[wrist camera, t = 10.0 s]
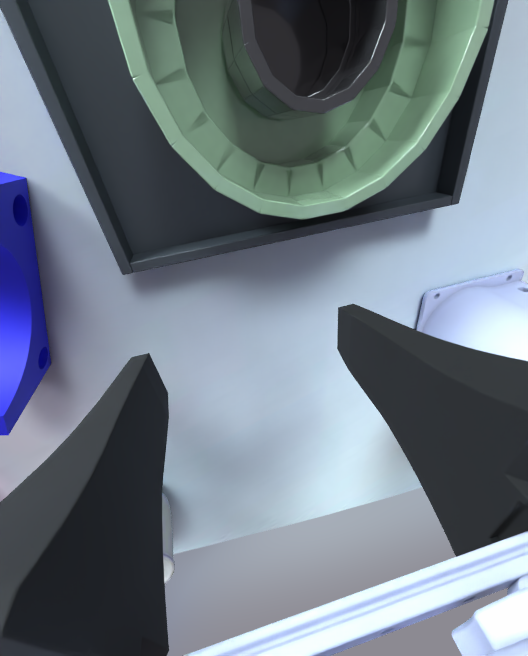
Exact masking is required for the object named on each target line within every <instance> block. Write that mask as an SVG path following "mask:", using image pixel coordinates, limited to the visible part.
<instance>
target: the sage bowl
mask: <svg viewBox="0 0 528 656" xmlns="http://www.w3.org/2000/svg"><path fill="white" fill-rule="evenodd" d="M226 1H227V0H108V3H109V6H110V9H111V13H112V16H113V19H114V22H115V26H116V29H117V32H118V36H119V39H120V42H121V45H122V49H123V52H124V55H125V58H126V62H127V65H128V68H129V72H130V75H131V77H132V78H133V82H134V84H135V85H136V87H137V89H138V90H139V92H140V94H141V96H142V97H143V99H144V101H145V103H146V104H147V106H148V108H149V110H150V111H151V113H152V115H153V116H154V118H155V120H156V122H157V123H158V125H159V127H160V129H161V130H162V132H163V134H164V135H165V137H166V139H167V141H168V142H169V144H170V145H171V146H172V148H173V149H174V150H175V151H176V152H177V153H178V154H179V155H180V156H181V157H182V158H183V159H184V160H185V161H186V162H187V163H188V164H189V165H190V166H191V167H192V168H193V169H194V170H195V171H196V172H197V173H198V174H199V175H200V176H201V177H202V178H203V179H204V180H205V181H206V182H207V183H208V184H209V185H210V186H211V187H212V188H213V189H214V190H216V191H217V192H219V193H221V194H223V195H224V196H226V197H228V198H230V199H232V200H234V201H236V202H238V203H240V204H242V205H244V206H245V207H247V208H249V209H251V210H253V211H255V212H257V213H260V214H265V215H272V216H279V217H287V218H294V219H301V220H302V219H304V220H305V219H309V218H314V217H319V216H324V215H329V214H334V213H339V212H343V211H345V210H348V209H350V208H351V207H353V206H355V205H357V204H359V203H360V202H362V201H364V200H366V199H367V198H369V197H371V196H373V195H375V194H376V193H378V192H380V191H382V190H383V189H385V188H386V187H388V186H389V185H390V184H391V183H392V182H393V181H394V180H395V179H396V178H397V177H398V176H399V175H400V174H401V173H402V172H403V171H404V170H405V169H406V168H407V167H408V166H409V165H410V164H411V163H412V162H413V161H414V160H415V159H416V158H418V157H419V156H420V155H421V154H422V153H423V151H424V150H426V148H427V147H428V145H429V144H430V142H431V141H432V139H433V137H434V136H435V134H436V133H437V131H438V130H439V128H440V127H441V125H442V124H443V122H444V121H445V119H446V118H447V116H448V115H449V113H450V112H451V110H452V109H453V107H454V106H455V104H456V102H457V101H458V99H459V97H460V95H461V93H462V91H463V88H464V86H465V83H466V81H467V79H468V76H469V74H470V71H471V69H472V67H473V64H474V62H475V59H476V57H477V55H478V52H479V50H480V47H481V45H482V43H483V40H484V38H485V35H486V33H487V31H488V26H489V22H490V18H491V14H492V9H493V5H494V0H398V11H397V22H396V26H395V29H394V31H393V34H392V36H391V39H390V42H389V44H388V47H387V49H386V52H385V55H384V57H383V60H382V62H381V65H380V67H379V69H378V71H377V72H376V73H375V75H374V76H373V77H372V78H371V79H370V81H369V82H368V83H367V84H366V85H365V87H364V88H363V89H362V90H361V91H360V93H359V94H358V95H357V96H356V97H355V99H353V100H352V101H351V102H348V103H346V104H344V105H342V106H340V107H338V108H336V109H333V110H331V111H329V112H327V113H325V114H320V115H315V116H309V117H303V118H298V119H292V120H283V119H275V118H267V117H265V116H263V115H262V114H260V113H259V112H258V111H257V110H255V109H254V108H253V107H251V106H250V105H249V104H247V103H246V102H245V101H244V99H242V97H241V95H240V93H239V91H238V89H237V87H236V86H235V84H234V82H233V80H232V78H231V76H230V74H229V72H228V69H227V65H226V58H225V52H224V46H223V39H222V25H223V19H224V13H225V7H226Z"/></svg>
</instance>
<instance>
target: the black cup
mask: <svg viewBox="0 0 528 656" xmlns="http://www.w3.org/2000/svg"><path fill="white" fill-rule="evenodd" d="M397 11H398V0H227V1H226V7H225V13H224V19H223V25H222V39H223V46H224V52H225V58H226V65H227V69H228V72H229V74H230V76H231V78H232V80H233V82H234V84H235V86H236V87H237V89H238V91H239V93H240V95H241V97H242V99H244V101H245V102H246V103H247V104H249V105H250V106H251V107H253V108H254V109H255V110H257V111H258V112H259V113H260V114H262V115H263V116H265V117H267V118H275V119H283V120H292V119H298V118H303V117H309V116H315V115H320V114H325V113H327V112H329V111H331V110H333V109H336V108H338V107H340V106H342V105H344V104H346V103H348V102H351V101H352V100H353V99H355V97H356V96H357V95H358V94H359V93H360V91H361V90H362V89H363V88H364V87H365V85H366V84H367V83H368V82H369V81H370V79H371V78H372V77H373V76H374V75H375V73H376V72H377V71H378V69H379V67H380V65H381V62H382V60H383V57H384V55H385V52H386V49H387V47H388V44H389V42H390V39H391V36H392V34H393V31H394V29H395V26H396V22H397Z"/></svg>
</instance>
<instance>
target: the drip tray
mask: <svg viewBox="0 0 528 656" xmlns="http://www.w3.org/2000/svg"><path fill="white" fill-rule="evenodd" d="M507 4H508V0H494V5H493V9H492V14H491V18H490V22H489V26H488V31H487V33H486V35H485V38H484V40H483V43H482V45H481V47H480V50H479V52H478V55H477V57H476V59H475V62H474V64H473V67H472V69H471V71H470V74H469V76H468V79H467V81H466V83H465V86H464V88H463V91H462V93H461V95H460V97H459V99H458V101H457V102H456V104H455V106H454V107H453V109H452V110H451V112H450V113H449V115H448V116H447V118H446V119H445V121H444V122H443V124H442V125H441V127H440V128H439V130H438V131H437V133H436V134H435V136H434V137H433V139H432V141H431V142H430V144H429V145H428V147H427V148H426V150H424V151H423V153H422V154H421V155H420V156H419V157H418V158H416V159H415V160H414V161H413V162H412V163H411V164H410V165H409V166H408V167H407V168H406V169H405V170H404V171H403V172H402V173H401V174H400V175H399V176H398V177H397V178H396V179H395V180H394V181H393V182H392V183H391V184H390V185H389V186H388V187H386V188H385V189H383V190H382V191H380V192H378V193H376V194H375V195H373V196H371V197H369V198H367V199H366V200H364V201H362V202H360V203H359V204H357V205H355V206H353V207H351V208H350V209H348V210H345V211H343V212H339V213H334V214H329V215H324V216H319V217H314V218H309V219H305V220H304V219H302V220H301V219H294V218H287V217H279V216H272V215H265V214H260V213H257V212H255V211H253V210H251V209H249V208H247V207H245V206H244V205H242V204H240V203H238V202H236V201H234V200H232V199H230V198H228V197H226V196H224V195H223V194H221V193H219V192H217V191H216V190H214V189H213V188H212V187H211V186H210V185H209V184H208V183H207V182H206V181H205V180H204V179H203V178H202V177H201V176H200V175H199V174H198V173H197V172H196V171H195V170H194V169H193V168H192V167H191V166H190V165H189V164H188V163H187V162H186V161H185V160H184V159H183V158H182V157H181V156H180V155H179V154H178V153H177V152H176V151H175V150H174V149H173V148H172V146H171V145H170V144H169V142H168V141H167V139H166V137H165V135H164V134H163V132H162V130H161V129H160V127H159V125H158V123H157V122H156V120H155V118H154V116H153V115H152V113H151V111H150V110H149V108H148V106H147V104H146V103H145V101H144V99H143V97H142V96H141V94H140V92H139V90H138V89H137V87H136V85H135V84H134V82H133V78H132V77H131V75H130V72H129V68H128V65H127V62H126V58H125V55H124V52H123V49H122V45H121V42H120V39H119V36H118V32H117V29H116V26H115V22H114V19H113V16H112V13H111V9H110V6H109V3H108V0H0V8H1V10H2V12H3V14H4V17H5V19H6V21H7V23H8V25H9V27H10V30H11V32H12V34H13V36H14V38H15V41H16V43H17V45H18V47H19V49H20V51H21V54H22V56H23V58H24V60H25V62H26V65H27V67H28V69H29V71H30V73H31V76H32V78H33V80H34V82H35V84H36V86H37V89H38V91H39V93H40V95H41V97H42V100H43V102H44V104H45V106H46V108H47V110H48V113H49V115H50V117H51V119H52V121H53V124H54V126H55V128H56V130H57V132H58V135H59V137H60V139H61V141H62V143H63V145H64V148H65V150H66V152H67V154H68V156H69V159H70V161H71V163H72V165H73V167H74V169H75V172H76V174H77V176H78V178H79V180H80V183H81V185H82V187H83V189H84V191H85V193H86V196H87V198H88V200H89V202H90V204H91V207H92V209H93V211H94V213H95V215H96V218H97V220H98V222H99V224H100V226H101V228H102V231H103V233H104V235H105V237H106V239H107V242H108V244H109V246H110V248H111V250H112V252H113V255H114V257H115V259H116V261H117V263H118V266H119V268H120V270H121V272H122V274H123V275H125V274H130V273H133V272H139V271H144V270H149V269H153V268H158V267H163V266H167V265H172V264H177V263H182V262H186V261H191V260H196V259H200V258H205V257H210V256H214V255H219V254H224V253H228V252H233V251H238V250H243V249H247V248H252V247H257V246H261V245H266V244H271V243H275V242H280V241H285V240H290V239H294V238H299V237H304V236H308V235H313V234H318V233H322V232H327V231H332V230H336V229H341V228H346V227H351V226H355V225H360V224H365V223H369V222H374V221H379V220H383V219H388V218H393V217H397V216H402V215H407V214H412V213H416V212H421V211H426V210H430V209H435V208H440V207H444V206H449V205H454V204H458V203H459V200H460V196H461V192H462V188H463V184H464V180H465V176H466V172H467V168H468V164H469V159H470V155H471V151H472V147H473V143H474V139H475V135H476V131H477V127H478V123H479V118H480V114H481V110H482V106H483V102H484V98H485V94H486V90H487V86H488V82H489V78H490V73H491V69H492V65H493V61H494V57H495V53H496V49H497V45H498V41H499V37H500V32H501V28H502V24H503V20H504V16H505V12H506V8H507Z"/></svg>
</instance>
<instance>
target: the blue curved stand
mask: <svg viewBox="0 0 528 656" xmlns="http://www.w3.org/2000/svg"><path fill="white" fill-rule="evenodd" d="M50 365H51V358H50V351H49V343H48V336H47V328H46V321H45V314H44V306H43V299H42V291H41V284H40V276H39V269H38V262H37V254H36V247H35V239H34V232H33V225H32V217H31V210H30V202H29V195H28V187H27V180H26V178H24V177H20V176H15V175H11V174H6V173H2V172H0V435H9V433H10V432H11V430H12V428H13V427H14V425H15V423H16V422H17V420H18V418H19V417H20V415H21V413H22V412H23V410H24V408H25V407H26V405H27V403H28V402H29V400H30V398H31V396H32V395H33V393H34V391H35V390H36V388H37V386H38V385H39V383H40V381H41V380H42V378H43V376H44V375H45V373H46V371H47V370H48V368H49V366H50Z"/></svg>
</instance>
